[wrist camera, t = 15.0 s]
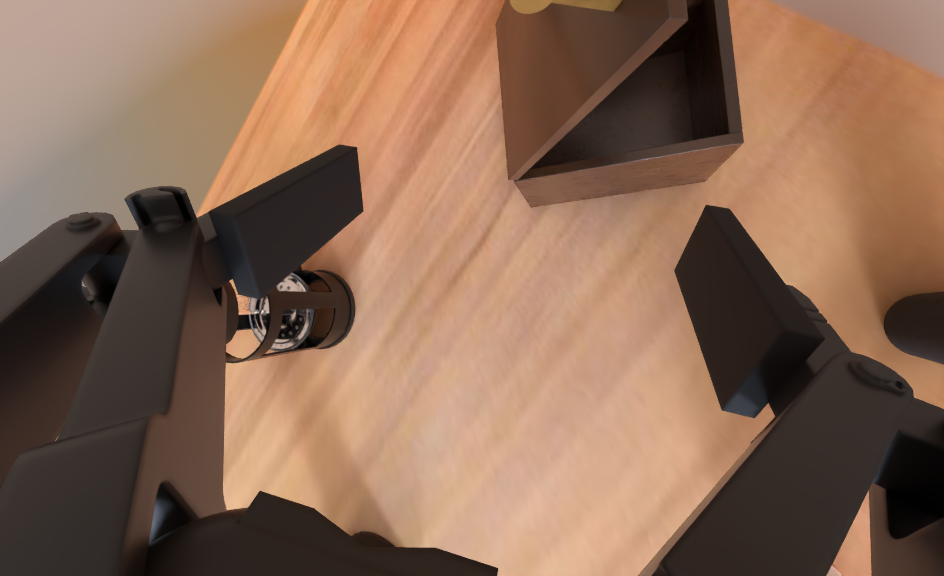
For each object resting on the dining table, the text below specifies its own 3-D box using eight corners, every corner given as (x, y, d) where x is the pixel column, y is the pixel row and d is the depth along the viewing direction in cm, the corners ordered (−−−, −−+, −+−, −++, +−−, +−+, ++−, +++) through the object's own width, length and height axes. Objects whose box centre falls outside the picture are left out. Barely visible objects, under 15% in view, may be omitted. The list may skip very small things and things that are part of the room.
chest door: (654, -306, 14) (512, -363, 13) (689, 20, 13) (544, -2, 12) (504, 25, 30) (435, 16, 29) (517, 180, 29) (447, 179, 28)
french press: (364, 344, 43) (134, 391, 21) (299, 361, 46) (35, 419, 24) (342, 247, 45) (103, 197, 23) (280, 269, 47) (12, 244, 25)
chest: (690, 45, 34) (723, -38, 26) (705, 181, 34) (744, 142, 25) (520, 86, 39) (501, 28, 30) (530, 207, 38) (513, 182, 30)
